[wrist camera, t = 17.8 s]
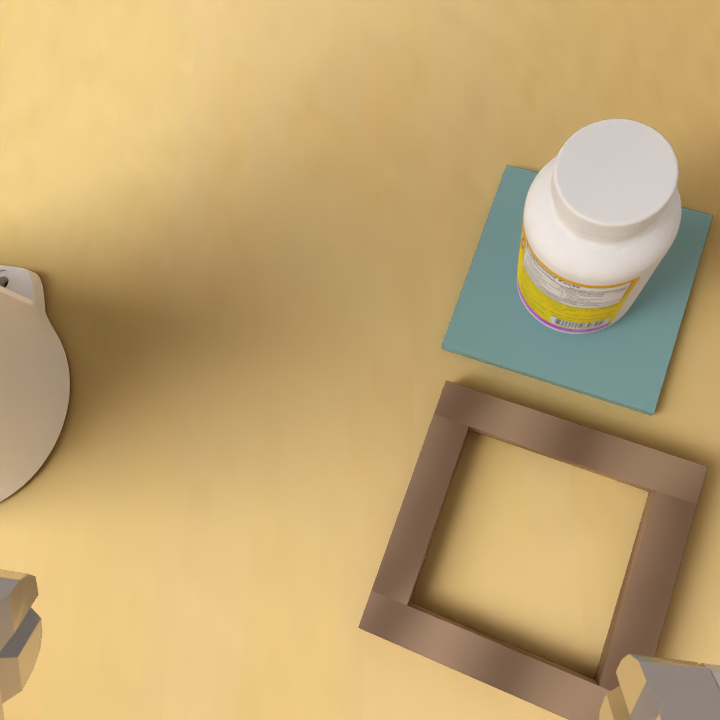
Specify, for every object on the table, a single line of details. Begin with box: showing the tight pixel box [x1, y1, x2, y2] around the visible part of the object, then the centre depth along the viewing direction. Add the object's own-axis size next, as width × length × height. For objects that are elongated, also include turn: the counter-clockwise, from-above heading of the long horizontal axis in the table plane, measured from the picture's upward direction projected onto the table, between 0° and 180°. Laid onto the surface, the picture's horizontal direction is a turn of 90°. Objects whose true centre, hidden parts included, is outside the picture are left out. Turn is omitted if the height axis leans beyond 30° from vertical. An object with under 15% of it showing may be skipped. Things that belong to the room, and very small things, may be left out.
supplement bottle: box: [517, 119, 681, 334], centre depth 32 cm, size 7×7×13 cm
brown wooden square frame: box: [358, 381, 708, 720], centre depth 36 cm, size 14×14×2 cm
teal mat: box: [442, 165, 713, 415], centre depth 39 cm, size 12×12×1 cm
